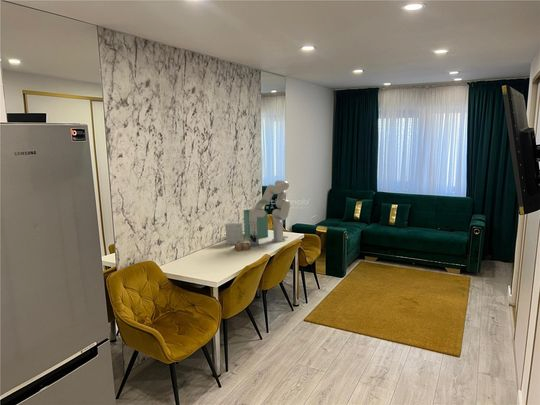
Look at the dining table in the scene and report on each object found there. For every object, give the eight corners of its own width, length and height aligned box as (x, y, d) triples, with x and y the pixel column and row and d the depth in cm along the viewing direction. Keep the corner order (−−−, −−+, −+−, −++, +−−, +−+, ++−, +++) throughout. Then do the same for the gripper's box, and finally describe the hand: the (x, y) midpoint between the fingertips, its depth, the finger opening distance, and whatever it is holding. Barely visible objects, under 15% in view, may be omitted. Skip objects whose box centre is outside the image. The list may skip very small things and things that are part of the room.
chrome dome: (262, 246, 364) (262, 244, 364) (263, 247, 360) (263, 246, 360) (258, 246, 363) (258, 245, 363) (259, 247, 359) (259, 246, 359)
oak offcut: (247, 245, 369) (247, 242, 368) (249, 246, 366) (249, 243, 365) (243, 245, 367) (243, 242, 366) (245, 246, 364) (245, 243, 363)
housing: (257, 244, 370) (257, 237, 369) (258, 245, 365) (258, 239, 364) (249, 245, 368) (249, 238, 366) (250, 246, 363) (250, 240, 362)
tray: (247, 246, 363) (247, 242, 363) (250, 249, 352) (249, 245, 351) (234, 247, 360) (234, 243, 360) (237, 251, 349) (237, 247, 348)
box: (244, 233, 414) (243, 210, 410) (263, 232, 419) (262, 208, 415) (248, 238, 392) (247, 214, 387) (268, 237, 397) (267, 212, 392)
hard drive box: (243, 242, 379) (242, 222, 376) (242, 244, 372) (241, 224, 368) (227, 242, 381) (227, 222, 378) (226, 244, 373) (225, 224, 370)
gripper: (259, 224, 355) (259, 242, 358) (254, 221, 372) (255, 238, 374) (251, 225, 353) (251, 243, 356) (247, 221, 370) (247, 238, 372)
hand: (253, 240), depth 365 cm, fingers open, 9 cm apart
